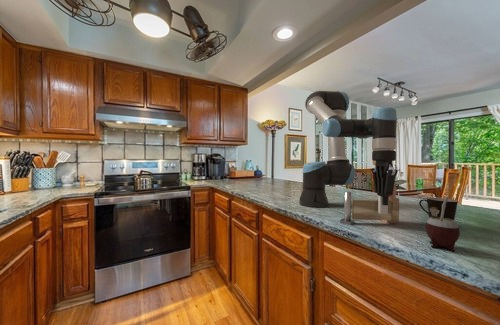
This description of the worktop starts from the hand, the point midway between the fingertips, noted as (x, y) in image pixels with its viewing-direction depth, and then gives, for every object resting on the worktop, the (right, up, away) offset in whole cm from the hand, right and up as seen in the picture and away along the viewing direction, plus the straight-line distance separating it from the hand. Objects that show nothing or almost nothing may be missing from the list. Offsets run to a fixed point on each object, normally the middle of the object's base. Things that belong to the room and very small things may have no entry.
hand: (382, 213), depth 77 cm
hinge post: (-12, -5, +3) cm, 13 cm away
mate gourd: (+4, -5, -19) cm, 20 cm away
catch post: (+6, -5, +6) cm, 9 cm away
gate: (-1, -4, +3) cm, 5 cm away
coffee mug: (+23, -5, +2) cm, 24 cm away
